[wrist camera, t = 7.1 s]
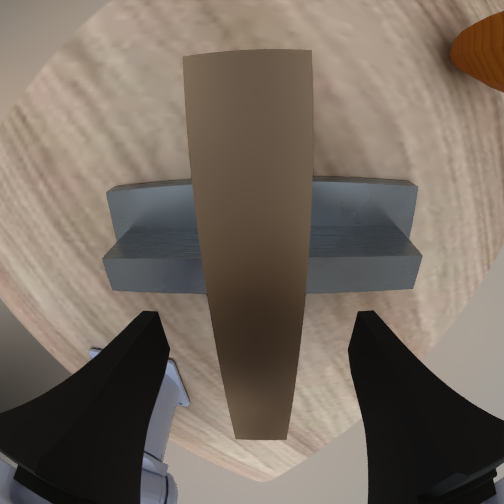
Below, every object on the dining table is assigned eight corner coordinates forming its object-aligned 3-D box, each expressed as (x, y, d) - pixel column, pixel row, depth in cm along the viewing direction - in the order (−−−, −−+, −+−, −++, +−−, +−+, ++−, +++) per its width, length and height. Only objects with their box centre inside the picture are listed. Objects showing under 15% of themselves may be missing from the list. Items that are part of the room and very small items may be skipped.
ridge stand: (137, 280, 19) (111, 322, 15) (115, 186, 16) (74, 214, 12) (390, 278, 18) (415, 322, 14) (409, 180, 15) (449, 209, 11)
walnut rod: (240, 387, 18) (235, 439, 14) (212, 73, 9) (182, 56, 5) (285, 387, 17) (286, 439, 14) (295, 70, 9) (311, 50, 5)
